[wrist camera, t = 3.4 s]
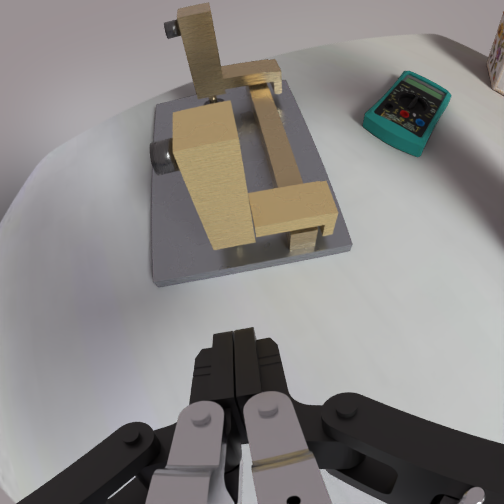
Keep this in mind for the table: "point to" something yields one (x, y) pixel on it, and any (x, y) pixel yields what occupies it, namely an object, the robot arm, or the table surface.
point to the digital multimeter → (407, 113)
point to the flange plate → (257, 179)
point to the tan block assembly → (255, 79)
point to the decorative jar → (497, 60)
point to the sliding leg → (234, 182)
